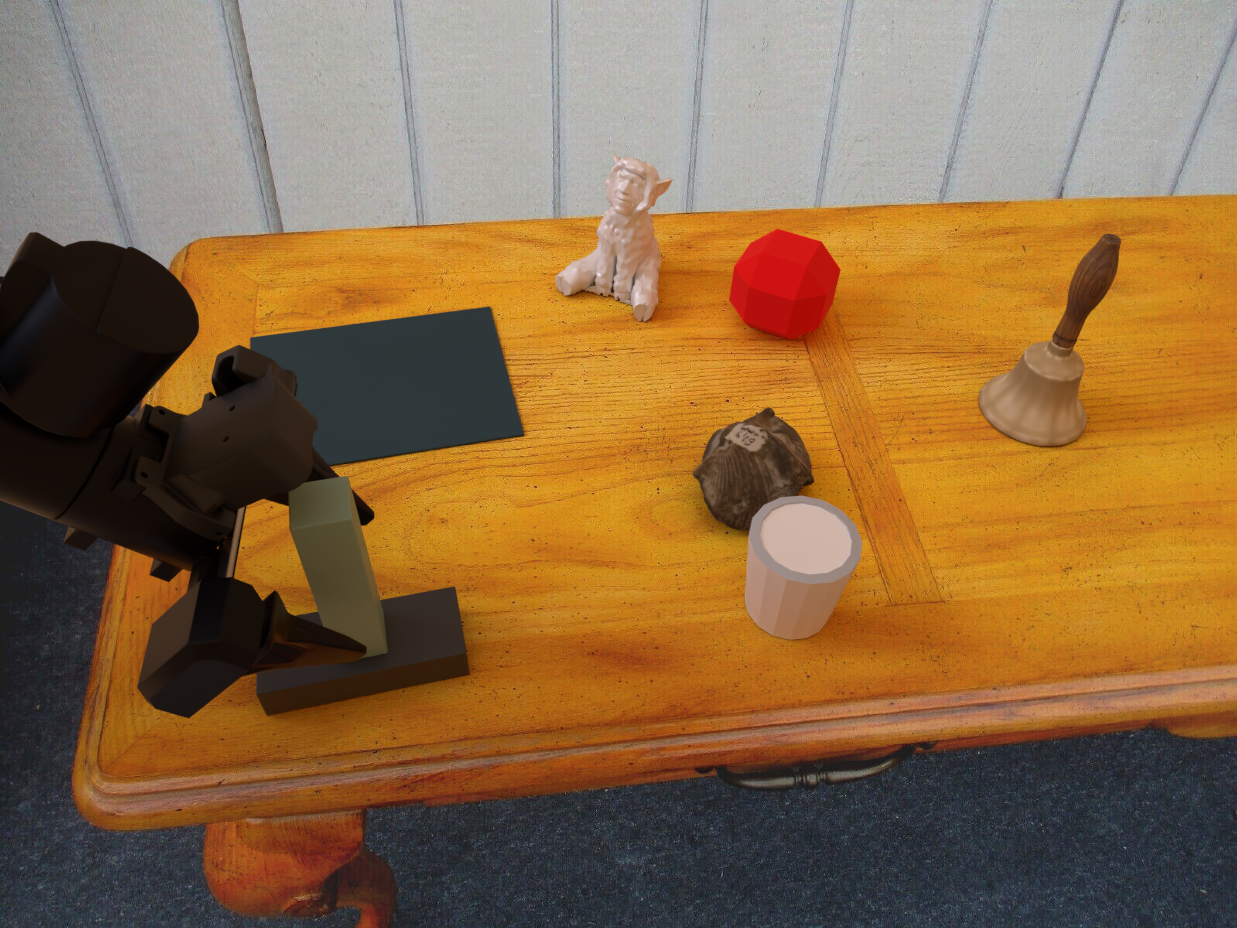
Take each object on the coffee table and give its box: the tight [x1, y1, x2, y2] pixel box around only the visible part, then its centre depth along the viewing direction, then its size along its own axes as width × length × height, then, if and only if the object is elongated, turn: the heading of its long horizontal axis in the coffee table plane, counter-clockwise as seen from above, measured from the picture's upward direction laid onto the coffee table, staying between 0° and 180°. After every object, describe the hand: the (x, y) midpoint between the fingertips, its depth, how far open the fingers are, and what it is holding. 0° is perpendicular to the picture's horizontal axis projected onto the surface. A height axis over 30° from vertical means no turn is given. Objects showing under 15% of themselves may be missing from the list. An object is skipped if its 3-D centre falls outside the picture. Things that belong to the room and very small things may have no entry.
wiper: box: [255, 475, 471, 716], centre depth 53 cm, size 12×5×15 cm, turn 104°
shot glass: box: [744, 495, 863, 641], centre depth 60 cm, size 7×7×7 cm
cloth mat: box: [249, 305, 525, 467], centre depth 76 cm, size 20×16×1 cm
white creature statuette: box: [554, 153, 674, 323], centre depth 81 cm, size 10×9×12 cm
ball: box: [728, 228, 842, 341], centre depth 80 cm, size 8×8×8 cm
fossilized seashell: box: [692, 407, 815, 531], centre depth 68 cm, size 8×7×10 cm
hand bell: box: [978, 233, 1122, 447], centre depth 70 cm, size 8×8×16 cm
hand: (366, 583), depth 53 cm, fingers open, 9 cm apart
